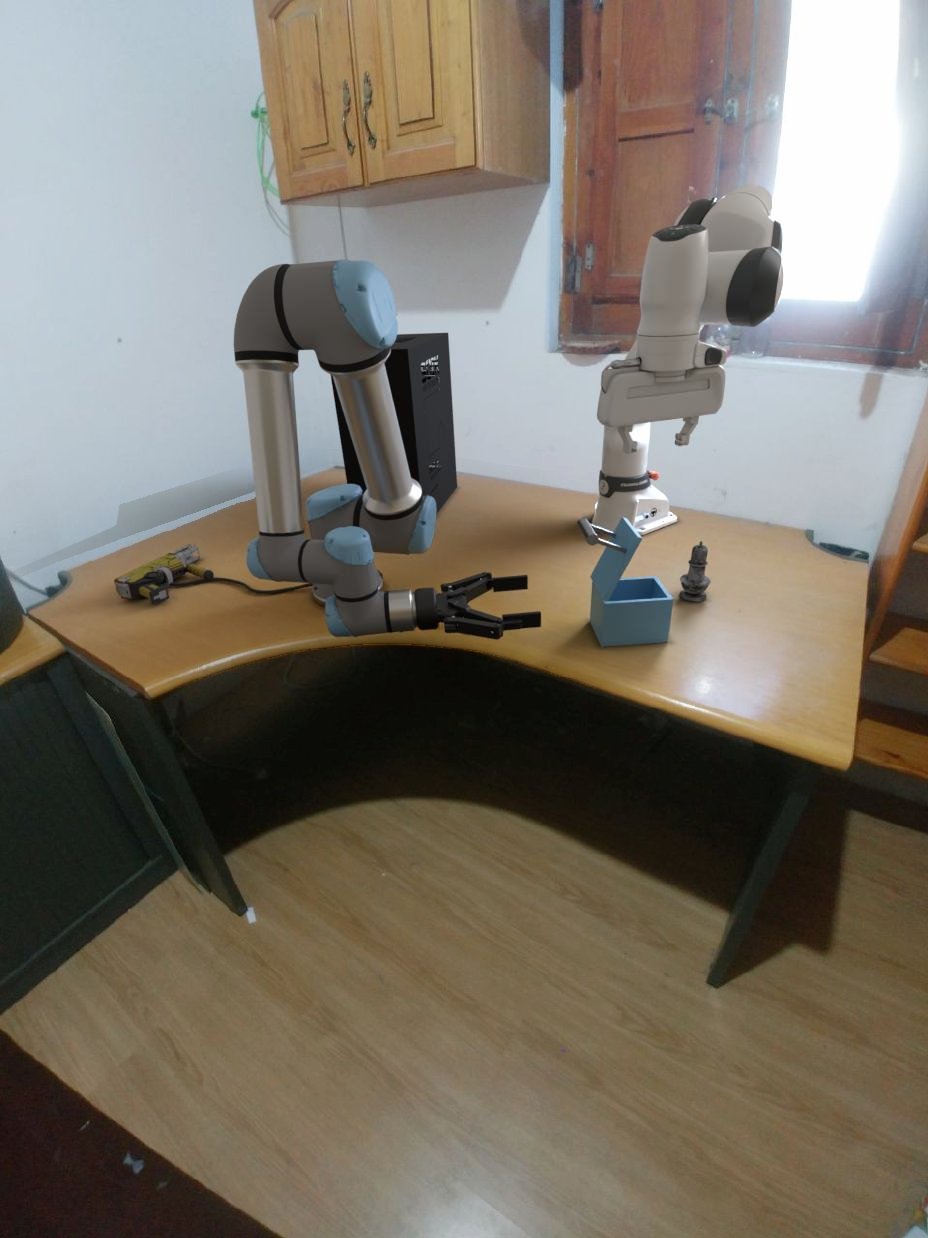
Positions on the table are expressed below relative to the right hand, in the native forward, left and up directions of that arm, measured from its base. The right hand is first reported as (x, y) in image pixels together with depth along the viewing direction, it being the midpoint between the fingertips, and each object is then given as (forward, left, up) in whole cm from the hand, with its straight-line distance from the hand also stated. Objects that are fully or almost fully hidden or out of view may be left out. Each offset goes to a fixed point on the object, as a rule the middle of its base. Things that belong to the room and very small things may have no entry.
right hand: (655, 448), depth 96 cm
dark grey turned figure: (-18, -5, -34) cm, 39 cm away
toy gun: (+78, -69, -34) cm, 109 cm away
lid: (+4, -2, -19) cm, 20 cm away
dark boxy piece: (+13, -89, -34) cm, 96 cm away
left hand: (+18, -7, -25) cm, 32 cm away
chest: (+2, -1, -34) cm, 34 cm away
